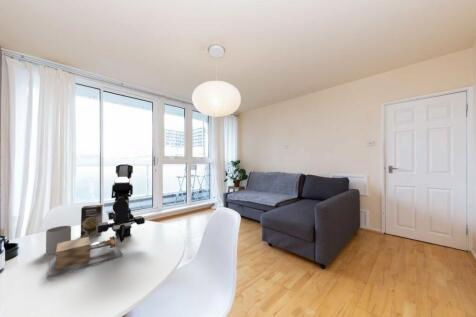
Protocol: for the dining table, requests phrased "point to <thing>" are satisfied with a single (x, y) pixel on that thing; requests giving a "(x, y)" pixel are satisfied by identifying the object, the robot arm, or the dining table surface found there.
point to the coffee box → (90, 220)
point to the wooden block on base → (79, 256)
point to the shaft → (104, 244)
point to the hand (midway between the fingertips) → (121, 241)
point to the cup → (56, 238)
